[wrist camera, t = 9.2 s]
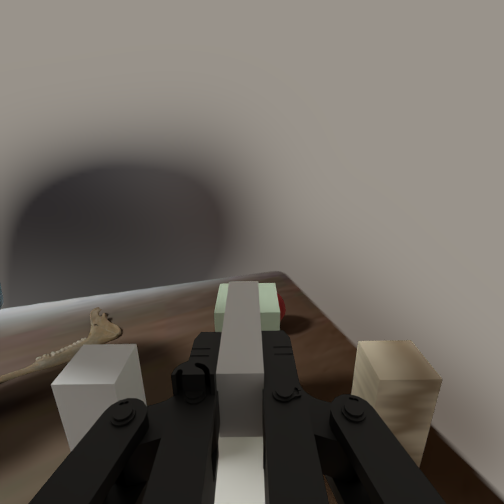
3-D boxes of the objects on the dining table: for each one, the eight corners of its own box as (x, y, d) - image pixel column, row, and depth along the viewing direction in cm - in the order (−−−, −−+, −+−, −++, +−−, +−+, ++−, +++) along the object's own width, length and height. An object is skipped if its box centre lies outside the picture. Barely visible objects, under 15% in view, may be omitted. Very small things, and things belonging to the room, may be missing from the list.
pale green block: (277, 426, 32) (280, 312, 27) (220, 427, 32) (214, 313, 27) (272, 384, 38) (275, 283, 33) (225, 384, 38) (220, 283, 33)
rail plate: (303, 528, 25) (304, 520, 24) (194, 530, 25) (193, 522, 24) (281, 366, 43) (281, 360, 42) (217, 367, 42) (217, 361, 42)
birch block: (362, 482, 28) (379, 380, 24) (346, 433, 33) (358, 341, 29) (415, 481, 28) (442, 379, 24) (391, 432, 33) (410, 340, 29)
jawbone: (137, 327, 54) (136, 318, 53) (17, 422, 36) (13, 410, 35) (98, 314, 56) (97, 305, 56) (-31, 396, 39) (-36, 384, 38)
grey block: (81, 486, 28) (50, 384, 24) (105, 436, 33) (83, 344, 28) (135, 485, 28) (114, 383, 24) (151, 436, 33) (136, 344, 28)
